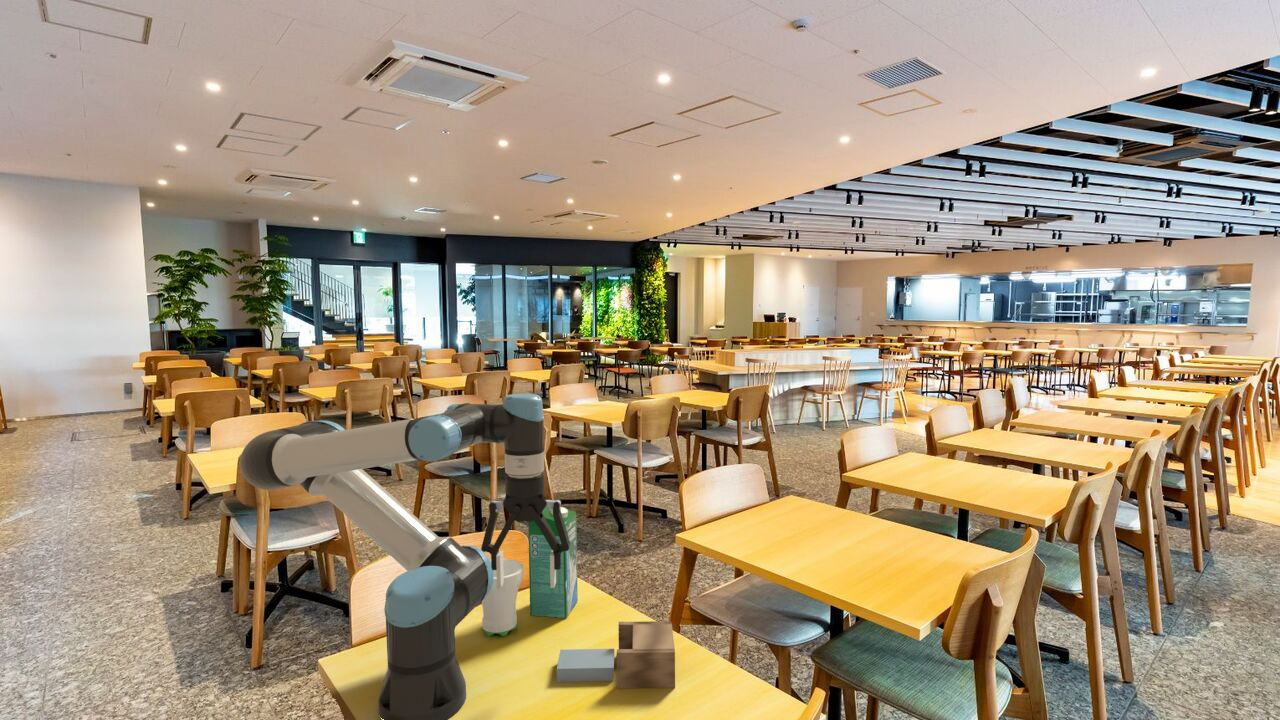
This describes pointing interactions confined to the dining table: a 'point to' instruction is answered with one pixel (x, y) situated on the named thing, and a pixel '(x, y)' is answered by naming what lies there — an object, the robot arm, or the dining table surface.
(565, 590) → the milk carton
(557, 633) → the dining table surface
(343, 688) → the dining table surface
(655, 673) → the brown notched block
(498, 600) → the cup
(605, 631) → the dining table surface
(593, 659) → the slab
